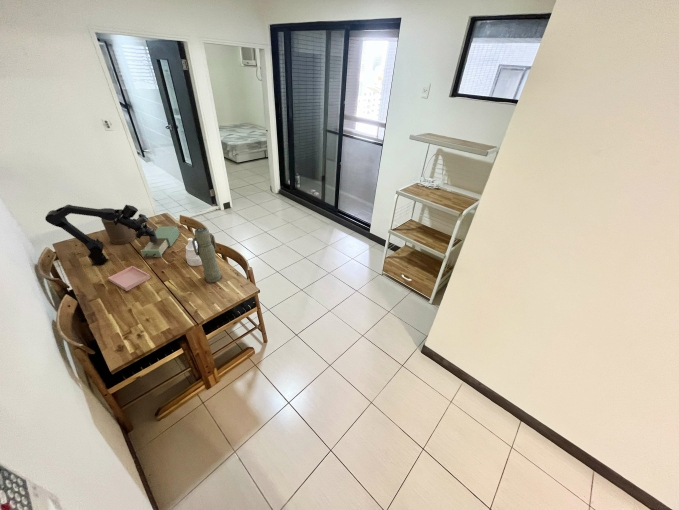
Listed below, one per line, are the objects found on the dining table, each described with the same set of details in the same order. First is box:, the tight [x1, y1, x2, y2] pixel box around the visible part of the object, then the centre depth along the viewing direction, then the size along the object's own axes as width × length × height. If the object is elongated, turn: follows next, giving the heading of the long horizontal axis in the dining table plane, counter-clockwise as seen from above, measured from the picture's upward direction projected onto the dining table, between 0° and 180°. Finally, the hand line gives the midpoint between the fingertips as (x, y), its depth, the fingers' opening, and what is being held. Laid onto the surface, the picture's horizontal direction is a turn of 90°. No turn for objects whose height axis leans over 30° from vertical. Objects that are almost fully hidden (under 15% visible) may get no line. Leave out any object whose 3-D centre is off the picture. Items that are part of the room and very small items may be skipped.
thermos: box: [192, 226, 222, 284], centre depth 161 cm, size 9×12×35 cm
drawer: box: [140, 239, 169, 259], centre depth 187 cm, size 21×11×5 cm, turn 7°
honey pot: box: [185, 237, 203, 267], centre depth 180 cm, size 13×13×18 cm
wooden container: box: [100, 218, 137, 245], centre depth 194 cm, size 15×15×22 cm
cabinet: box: [148, 225, 180, 248], centre depth 201 cm, size 18×13×7 cm
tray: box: [107, 265, 152, 292], centre depth 165 cm, size 17×14×2 cm
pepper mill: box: [147, 226, 158, 243], centre depth 183 cm, size 5×5×11 cm
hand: (154, 234), depth 184 cm, fingers closed on pepper mill, 4 cm apart
